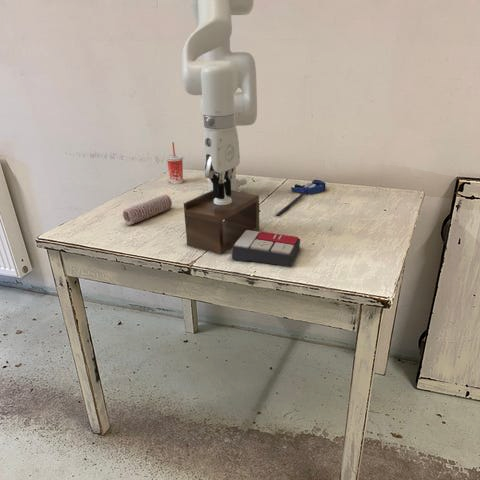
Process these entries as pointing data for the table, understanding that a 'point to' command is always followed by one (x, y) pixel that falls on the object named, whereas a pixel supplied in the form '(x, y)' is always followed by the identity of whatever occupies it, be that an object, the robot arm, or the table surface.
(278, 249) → the grey and red box
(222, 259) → the table surface
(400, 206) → the table surface
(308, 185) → the bar clamp
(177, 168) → the beverage cup
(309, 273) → the table surface
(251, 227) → the brown wooden cabinet
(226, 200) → the chess piece
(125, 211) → the coil
